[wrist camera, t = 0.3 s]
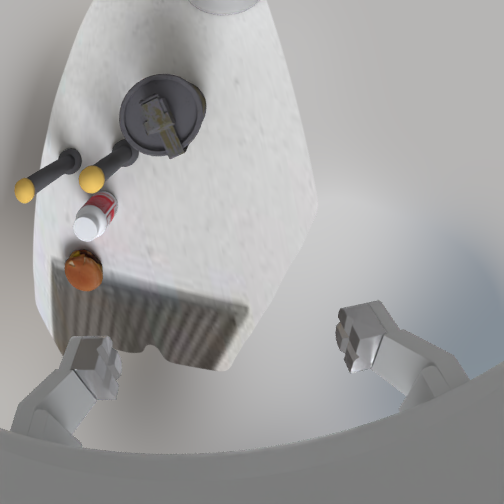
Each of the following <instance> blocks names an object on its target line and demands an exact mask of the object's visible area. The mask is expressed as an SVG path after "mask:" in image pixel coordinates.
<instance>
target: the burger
mask: <svg viewBox="0 0 504 504" xmlns="http://www.w3.org/2000/svg"><path fill="white" fill-rule="evenodd" d="M65 274H66V277H67V279H68V281H69V282H70V283H71V284H72V285H73V286H74V287H75V288H77V289H79V290H82V291H91V290H94V289H96V288H97V287H98V286H99V285H100V284H101V282H102V279H103V270H102V264H101V263H100V261H99V260H98V259H97V258H96V257H95V256H94V255H93V254H92V253H91V252H88V251H87V250H76V251H74V252H72V254H71V255H70V258H69V259H68V260H67V261H66V263H65Z"/></svg>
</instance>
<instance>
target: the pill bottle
mask: <svg viewBox="0 0 504 504" xmlns="http://www.w3.org/2000/svg"><path fill="white" fill-rule="evenodd" d="M117 209H118V205H117V201H116V199H115V197H114V196H113V195H112V194H110V193H108V192H105V191H100V192H97V193H96V194H94V195H93V196H92V197H91V198H90V199H89V200H88V201H87V202H86V203H85V204H84V206H83V207H82V208H81V209H80V210H79V211H78V213H77V216H76V220H75V222H74V225H73V230H74V233H75V235H76V236H77V237H78V238H79V239H80V240H82V241H86V242H89V241H92V240H93V239H95V237H98V236H100V235H102V234H103V233H104V231H105V230H106V228H107V227H108V225H109V224H110V222H111V221H112V219H113V218H114V216H115V214H116V213H117Z"/></svg>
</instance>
